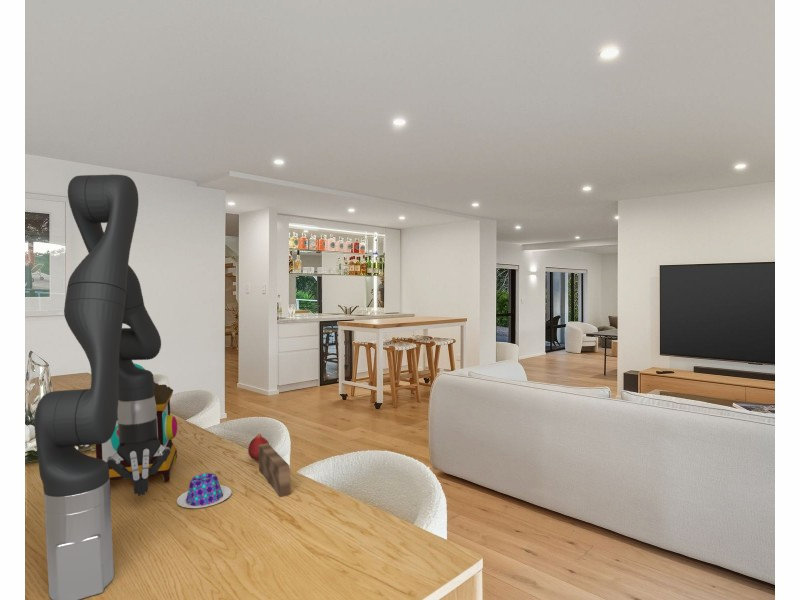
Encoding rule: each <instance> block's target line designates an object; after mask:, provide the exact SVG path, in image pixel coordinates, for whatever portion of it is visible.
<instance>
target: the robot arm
mask: <svg viewBox="0 0 800 600" xmlns="http://www.w3.org/2000/svg"><path fill="white" fill-rule="evenodd" d="M138 193H139V191H138V188H137V185H136V183H135V181H134V180H133V179H132V178H131V177H130V176H128V175H124V174H87V175H86V174H85V175H83V174H81V175H75V176H74V177H72V178H71V180H69V183H68V186H67V198H68V204H69V208H70V210H71V213H72V214H71V215H72V216H73V218H74V222H75V223H76V226H77V228H78V231H79V233H80V235H81V237H82V238H81V239H82V241H83V244H84V245H85V247H86V251H87V255H86V256H85V257H84V258H83V259H82V260H81V262H80V263H79V264H78V265H77V266H76V268H75V269H74V270H73V272H72V273H71V275H70V277H69V278H68V282H67V286H66V287H67V288H66V295H65V300H64V308H63V315H64V319H65V321H66V324H67V326H68V328H69V329H70V331H71V333H72V334H73V336H74V338H75V339H76V341H77V342H78V344H79V345H80V347H81V348H82V350H83V351H84V353H85V356H86V358H87V359H88V362H89V365H90V373H91V374H90V376H91V378H90V379H91V380H90V381H91V383H90V388H83V389H67V390H66V389H65V390H63V389H62V390H55V391H54V390H53V391H50V392H47V393H45V394H44V395H43V396H42V397H41V398H40V399H39V401H38V403H37V405H36V408H35V413H34V436H35V438H34V439H35V444H36V445H35V446H36V449H37V461H38V472H39V477H40V479H41V482H42V485H43V498H44V499H43V500H44V501H43V502H44V520H45V521H44V526H45V541H46V542H45V544H46V563H47V579H48V582H47V583H48V596H49V598H50V599H51V600H81V599H85V598H89V597H91V596H96V595H99V594H102V593H103V592H104V591H105V590H104V589H105V588H106V587H107V586H108V585H109V584H110V583H112V581H113V580H114V577H115V572H114V571H115V569H114V566H115V565H114V551H113V549H114V548H113V547H114V546H113V531H112V530H113V529H112V528H113V526H112V508H111V506H112V505H111V504H112V503H111V485H110V484H111V480H110V479H109V466H110V467H111V468H112V469H113V470H114V471H116V472H117V473H118V474H119V475H120V476H122V477H123V478H124V480H132V483H133V484H132V485H133V493H134V495H137V497H141V496H145V495H146V492H147V493H148V491H149V477H150V476H153V475H152V474H154V475H156V474H155V473H156V472H157V471H158V470H159V468H160V467H161V465H162V464H163V463H164V461H165V460H166V458H167V457H168V456H169V454H170V448H169V447H165V446H163V445H161V444H160V441H159V439H158V434H157V410H156V402H155V397H154V382H155V379H154V373H152V371H150V370H148V369H146V368H144V369H140V368H138V367H136V366H135V365H134V364H135V363H134V362H133V361H143V360H144V361H146V360H152V359H154V358H155V357H157V356H158V355H159V353H160V351H161V349H162V339H161V335H160V333H159V330H158V329H157V327H156V325H155V323H154V322H153V320H152V318H151V316H150V315H149V312H148V311H147V309H146V306H145V301H144V297H143V292H142V287H141V282H140V280H139V278H138V276H137V274H136V271H134V269H133V268H132V267H131V266H130V265H129V261H130V260H129V259H130V252H131V247H132V243H133V242H132V241H133V237H134V233H135V227H136V223H137V217H138V211H139V194H138ZM102 224H106V226H105V230H103V229H104V228H103V227H102ZM123 324H124V325H127V326H128V327H123ZM117 413H118V416H117ZM117 418H118V430H119V446H118V448H117V452H116V453H115V454H114V455H113V456H112V457H111V456H110V457H108V458H107V463H106V462H105V461H104V460H101V459H98V458H96V457H94V456H91V455H87V454H86V453H83V452H81V451H80V450H78V449H77V448H76V447H79V446H90V445H92V446H94V445H93V444H102V443H105V442H107V441H108V440H109V439H110V438H111V437H112V435H113V433H114V430H115V426H116V421H117ZM158 449H159V451H158V455H159V456H158V457H157V459H156V460H155V461H154V463H153V464H152V465H151V467H149V461H150V460H151V459H152V458H153V456H154V455H155V453H156V452H157V450H158ZM119 457H121V458H122V459H123V460H125V461H126V462H127V463H128V464H130V465H131V466H132V471H129V470H127V469H126V468H125V467H124V466H123V465H121V464H120V458H119ZM139 463H142V470H141V476H139V470H138V464H139Z"/></svg>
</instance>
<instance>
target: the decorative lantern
mask: <svg viewBox="0 0 800 600" xmlns="http://www.w3.org/2000/svg"><path fill="white" fill-rule="evenodd" d="M134 365H135V366H136V367H138V368H140V369H145V367H143V366H142V365H140V364H138V363H134ZM173 393H174V389H172V388H171V387H170V386H167V384H159V383H157V382H155V381H154V397H155V402H156V410H157V434H158V439H159V441H160V444H161V445H163V446H165V447H169V448H170V454H169V456H168V457H167V458H166V460H165V461H164V463H163V464H162V465H161V467H160V468H159V470H158V471H157V472H156V473H155V474H152V475H151V476H153V475H161V476H162V480H163V483H165V484H168V483H169V482H170V477H171V476H170V475H171V467H172V465H173V463H174V462H176V461H177V459H178V453H177V452H178V450H177V448H176V446H175V444H174V443H173V439H175V437H176V436H177V433H178V421H177V419H176V416H175V415H172V414H171V398H172V395H173ZM117 416H118V413H117ZM92 446H94V447H95V458H98V459H101V460H104V461H105V462H106V463H107V458H108V457H110V456H111V457H112V456H113V455H114V454H115V453H116V452H117V448H118V446H119V430H118V418H117V421H116V426H115V430H114V433H113V435H112V437H111V438H110V439H109V440H108V441H107V442H105V443H102V444H93V445H92ZM158 451H159V449H158V450H157V452H156V453H155V455H154V456H153V458H152V459H151V460H150V461H149V467H151V465H152V464H153V463H154V461H155V460H156V459H157V457H158V456H159V455H158ZM119 458H120V464H121V465H123V466H124V467H125V468H126V469H127V470H129V471H132V466H131V465H130V464H128V463H127V462H126V461H125V460H123V459H122V458H121V457H119ZM138 470H139V476H141V470H142V463H139V464H138ZM109 479H110V481H115V480H121V479H122V480H123V479H124V478H123V477H122V476H120V475H119V474H118V473H117V472H116V471H114V470H113V469H112V468H111V467H110V466H109ZM124 480H125V479H124Z"/></svg>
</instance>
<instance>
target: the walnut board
mask: <svg viewBox="0 0 800 600" xmlns="http://www.w3.org/2000/svg"><path fill="white" fill-rule="evenodd" d="M268 443H269V442H268ZM268 443H266V444H260V445H258V449H259V462H258V470H259V472H260V473H261V475H262V476H263V477H264V479H265V480H266V481H267V482H268V485H269V486H271V488H272V489H273V490H274V491H275V493H276V494H277V495H278V497H280V498H282V497H287V496H290V495H291V474H290V473H291V472H290V471H291V470H290V465H289V464H288V463H287V461H286V460H285V459H284V458H283V457H282V456H281V455H280V454H279V453H278V452H277V451H276V450H275V449H274V448H273V447H272V445H270V443H269V444H268Z"/></svg>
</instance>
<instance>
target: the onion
mask: <svg viewBox="0 0 800 600" xmlns="http://www.w3.org/2000/svg"><path fill="white" fill-rule="evenodd" d="M266 443H268V444H269V445H270V443H269V441H268V440H267V439H266V438H265V437H263V436H262V433H258V434H257V435H256V436H255V437H254V438H253V439H252V440H250V443H249V445H248V448H247V449H248V450H247V451H248V455H249V456H250V458H251V459H253V460H255V461H256V462H258V461H259V449H258V445H260V444H266Z"/></svg>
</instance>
